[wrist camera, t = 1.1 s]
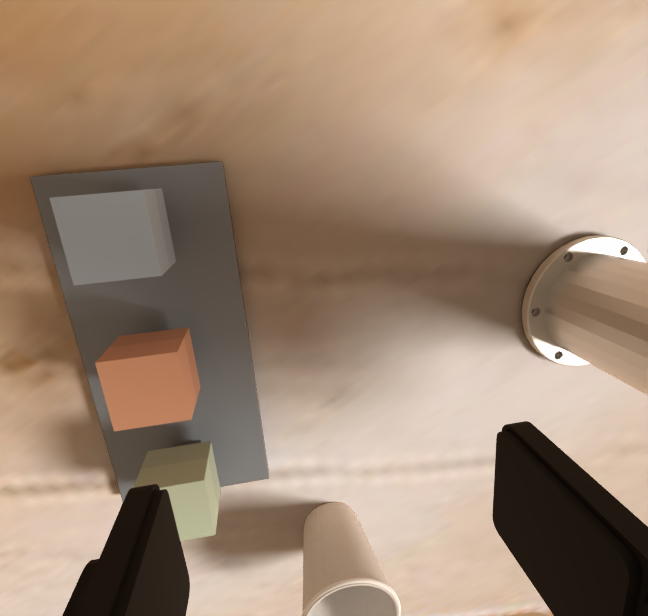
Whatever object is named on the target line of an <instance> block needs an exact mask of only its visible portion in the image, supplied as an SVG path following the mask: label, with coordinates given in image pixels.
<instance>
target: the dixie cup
mask: <svg viewBox="0 0 648 616" xmlns="http://www.w3.org/2000/svg"><path fill="white" fill-rule="evenodd" d="M400 612H401V606H400V601H399V598H398V596H397V594H396V593H395V591H394V590H393V589H392V588H391V587H390V585H389V583H388V581H387V579H386V577H385V574H384V572H383V570H382V568H381V566H380V564H379V562H378V560H377V557H376V555H375V553H374V551H373V549H372V547H371V545H370V543H369V541H368V538H367V536H366V534H365V532H364V530H363V528H362V526H361V524H360V521H359V519H358V517H357V515H356V513H355V511H354V510H353V509H352V508H351V507H350V506H348V505H346V504H344V503H339V502H330V503H326V504H323V505H320V506H318V507H316V508H315V509H313V510H312V511H311V512H310V513H309V515H308V516H307V518H306V520H305V522H304V549H303V613H302V616H400Z"/></svg>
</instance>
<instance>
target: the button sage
mask: <svg viewBox="0 0 648 616" xmlns="http://www.w3.org/2000/svg"><path fill="white" fill-rule="evenodd" d="M152 484H157V485H158V486H159V488H160V490H163V489H167V491H168V493H169V497H170V501H171V505H172V509H173V513H174V517H175V521H176V526H177V530H178V534H179V538H180V542H181V541H186V540H191V539H197V538H202V537H207V536H213V535H216V526H217V518H218V509H219V501H220V492H221V489H220V484H219V479H218V474H217V469H216V464H215V459H214V453H213V448H212V443H211V441H208V442H202V443H196V444H189V445H183V446H177V447H171V448H164V449H158V450H152V451H148V452H147V455H146V457H145V460H144V462H143V465H142V467H141V470H140V472H139V475H138V477H137V479H136V482H135V484H134V487H133V488H135V487H141V486H146V485H152Z"/></svg>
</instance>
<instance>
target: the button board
mask: <svg viewBox="0 0 648 616" xmlns="http://www.w3.org/2000/svg"><path fill="white" fill-rule="evenodd" d="M30 180H31V184H32V187H33V191H34V194H35V197H36V201H37V204H38V208H39V211H40V215H41V218H42V222H43V225H44V229H45V232H46V236H47V239H48V243H49V246H50V250H51V253H52V257H53V260H54V264H55V267H56V271H57V274H58V278H59V281H60V285H61V288H62V292H63V295H64V299H65V302H66V305H67V309H68V312H69V316H70V319H71V323H72V326H73V330H74V333H75V337H76V340H77V344H78V347H79V351H80V354H81V358H82V361H83V365H84V368H85V372H86V375H87V379H88V382H89V386H90V389H91V393H92V396H93V400H94V403H95V407H96V410H97V413H98V417H99V420H100V424H101V427H102V431H103V434H104V438H105V441H106V445H107V448H108V452H109V455H110V459H111V462H112V466H113V469H114V473H115V476H116V480H117V483H118V487H119V490H120V494H121V497H122V501H123V502H124V499H125V497H126V495H127V493H128V491H129V489H131V488H133V487H134V484H135V482H136V479H137V477H138V475H139V472H140V470H141V467H142V465H143V462H144V460H145V457H146V455H147V452H148V451H152V450H158V449H164V448H171V447H177V446H183V445H189V444H196V443H202V442H208V441H211V443H212V448H213V453H214V459H215V464H216V469H217V474H218V479H219V484H220V487H223V486H228V485H234V484H240V483H246V482H251V481H257V480H263V479H268V478H269V472H268V464H267V457H266V450H265V443H264V437H263V430H262V423H261V416H260V410H259V403H258V396H257V389H256V383H255V376H254V369H253V362H252V356H251V349H250V342H249V335H248V329H247V322H246V315H245V308H244V302H243V295H242V288H241V281H240V275H239V268H238V261H237V255H236V248H235V241H234V234H233V228H232V221H231V214H230V207H229V201H228V194H227V187H226V180H225V174H224V167H223V162H222V161H221V162H209V163H196V164H183V165H171V166H158V167H145V168H133V169H120V170H108V171H95V172H82V173H70V174H57V175H45V176H32V177H30ZM160 188H162V191H163V197H164V202H165V207H166V212H167V217H168V222H169V227H170V233H171V238H172V243H173V248H174V253H175V258H176V262H175V263H174V264H173V265H172V266H171V267H170V268H169V269H168V270H167V271H166V272H165V273H164V274H163V275H162V276H156V277H147V278H138V279H128V280H119V281H110V282H101V283H92V284H83V285H73V281H72V278H71V274H70V271H69V267H68V263H67V260H66V256H65V252H64V249H63V245H62V242H61V238H60V234H59V231H58V227H57V224H56V220H55V216H54V213H53V209H52V206H51V202H50V198H53V197H65V196H76V195H88V194H100V193H111V192H123V191H135V190H147V189H160ZM187 327H189V330H190V335H191V340H192V346H193V351H194V356H195V361H196V366H197V371H198V376H199V382H200V391H199V394H198V398H197V402H196V405H195V409H194V412H193V416H192V420H186V421H179V422H173V423H166V424H160V425H153V426H147V427H140V428H134V429H127V430H121V431H114V429H113V426H112V422H111V418H110V415H109V411H108V408H107V404H106V400H105V397H104V393H103V390H102V386H101V382H100V379H99V375H98V372H97V368H96V364H95V362H96V361H97V360H98V359H99V358H100V357H101V356H102V355H103V353H104V352H105V351H106V350H107V349H108V348H109V347H110V346H111V344H112V343H113V342H114V341H115V340H116V339H117V338H118V337H119V336H124V335H132V334H139V333H147V332H155V331H163V330H171V329H179V328H187Z"/></svg>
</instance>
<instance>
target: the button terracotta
mask: <svg viewBox="0 0 648 616" xmlns="http://www.w3.org/2000/svg"><path fill="white" fill-rule="evenodd" d="M95 364H96V368H97V372H98V375H99V379H100V382H101V386H102V390H103V393H104V397H105V400H106V404H107V408H108V411H109V415H110V418H111V422H112V426H113V429H114V431H121V430H127V429H134V428H140V427H147V426H153V425H160V424H166V423H173V422H179V421H186V420H192V416H193V412H194V409H195V405H196V402H197V398H198V394H199V391H200V382H199V376H198V371H197V366H196V361H195V356H194V351H193V346H192V340H191V335H190V330H189V327H187V328H179V329H171V330H163V331H155V332H147V333H139V334H132V335H124V336H119V337H118V338H117V339H116V340H115V341H114V342H113V343H112V344H111V346H110V347H109V348H108V349H107V350H106V351H105V352H104V353H103V355H102V356H101V357H100V358H99V359H98V360H97V361H96V362H95Z"/></svg>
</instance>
